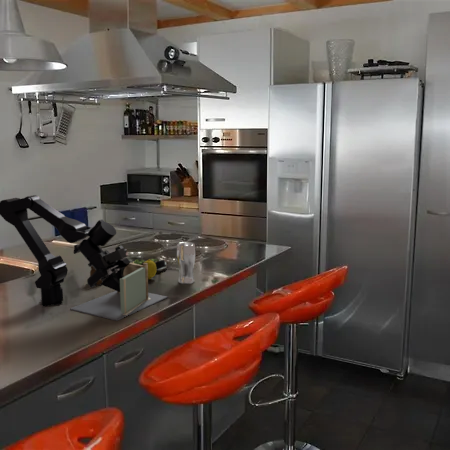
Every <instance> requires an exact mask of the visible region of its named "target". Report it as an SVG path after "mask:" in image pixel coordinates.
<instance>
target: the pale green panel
mask: <svg viewBox="0 0 450 450" xmlns="http://www.w3.org/2000/svg"><path fill="white" fill-rule="evenodd" d="M145 299H146V278H145V267H141V268H140V269H138V270H136V271H134V272H132V273H130V274H128V275H127V276H125V277H123V278H120V300H121V313H126V312H127V311H129V310H130V309H132V308H133V307H135V306H136V305H138V304H139V303H141V302H142V301H144V300H145Z"/></svg>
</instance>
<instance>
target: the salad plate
mask: <svg viewBox="0 0 450 450" xmlns="http://www.w3.org/2000/svg"><path fill="white" fill-rule="evenodd" d="M150 260H151V261H153V262H154V263H155V264H156V269H157V270H156V274H157V273H158V274H159V273H163V272H165V271H166V270H168V269H167V268H168V265H167V262H166V261H165V260H164V259H163V260H162V259H158V258H150ZM145 261H146V260H144V259H142V258H141V259H135V260H133V261H130V263H135V264H139V265H143V263H144V262H145Z"/></svg>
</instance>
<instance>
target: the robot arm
mask: <svg viewBox="0 0 450 450" xmlns="http://www.w3.org/2000/svg"><path fill="white" fill-rule="evenodd" d="M28 210H30V211H31V212H33V213H34V214H36V215H37V216H39V217H40V218H42V219H43V220H44V221H46V222H47V223H49V224H50V225H51V226H52V227H54V228H56V230H57V232H58V233H59V235H60V236H61V237H62V238H63V240H65V241H66V242H67V243H69V244H74V245H73V254H75V255H76V254H78V253H80V254H82V255H83V256H84V258H85V259H86V260H87V261H88V263H87V266H88V267H89V268H91V266H93V267H94V268H95V270H96V271H95V272H94V273H93V274H92V275H91V276H90V275H89V277H87V280H86V284H87V285H88V286H89V287H90V288H91V289H92V288H94V287H95V286H98V285H97V282H98V281H99V280H100V279H102V280H101V281H102V283H101V284H100V285H99V286H104V287H106V288H109V289H111V290H113V291H118V292H120V278H123V277H124V275H123V272H124V269H125V267H127V266H128V265H129V264H130V262H131V261H130V260H129V259H128V258H127V257H128V256H127V252H128V250H127V249H126V248H125V247H124V246H123V245H118V246H117V247H115V251H112V252H110V251H109V250H104V249H102V247H105V246H106V245H107V244H108V243H109V242H110V241H111V240H112V239H113V238H115V237H114V236H115V235H116V234H117V230H116V229H115V227H114V225H113V224H110V223H109V222H106V221H105V220H103V218H101V219H99V220H97V221H96V222H95V225H94V226H93V227H91V226H88V225H87V224H86V223H84V222H81V221H80V220H77V219H74V218H70V217H67V216H65V214H63V213H61V212H60V211H58V210H57V209H55V208H54V207H53V206H51V205H50V204H49V203H47V202H45V201H44V200H42V199H41V197H40V196H38V195H37V194H34V195H27V196H25V197H23V198H20V197H12V198H7V199H2V200H0V217H1V218H2V219H4V221H5V222H7V223H8V224H9V225H12V226H13V227H14V228H15V230H17V232H18V234H19V235H20V236H21V238H22V240H23V241H24V243H25V244H26V247H27V248H28V249H29V250H30V252H31V254H32V255H33V256H34V258H35V259H36V262H37V267H38V272H39V274H40V276H39V277H38V278H37V279H36V280H35V281H34V285H35V287H36V288H37V289H39V290H40V304H41V307H49V306H56V305H57V306H59V305H63V301H64V290H63V287H62V286H61V284H62V283H64V282H65V279H66V277H67V275H68V271H69V270H68V267H67V265H68V264H67V263H66V262H65V260H64V259H63V257H62V256H61V255H59V254H58V255H56V256H55V255H54V254H52V253H51V252H50V250H49V249H48V247H47V246H46V243H45V242H44V241H43V239H42V238H41V237H40V234H39V233H38V232H37V230H36V228H35V227H34V225H33V224H32V223H31V221H30V220H29V217H28V216H29V213H28ZM86 238H87V239H86ZM79 241H81V242H79ZM77 242H79V243H77ZM75 243H77V244H75Z"/></svg>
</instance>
